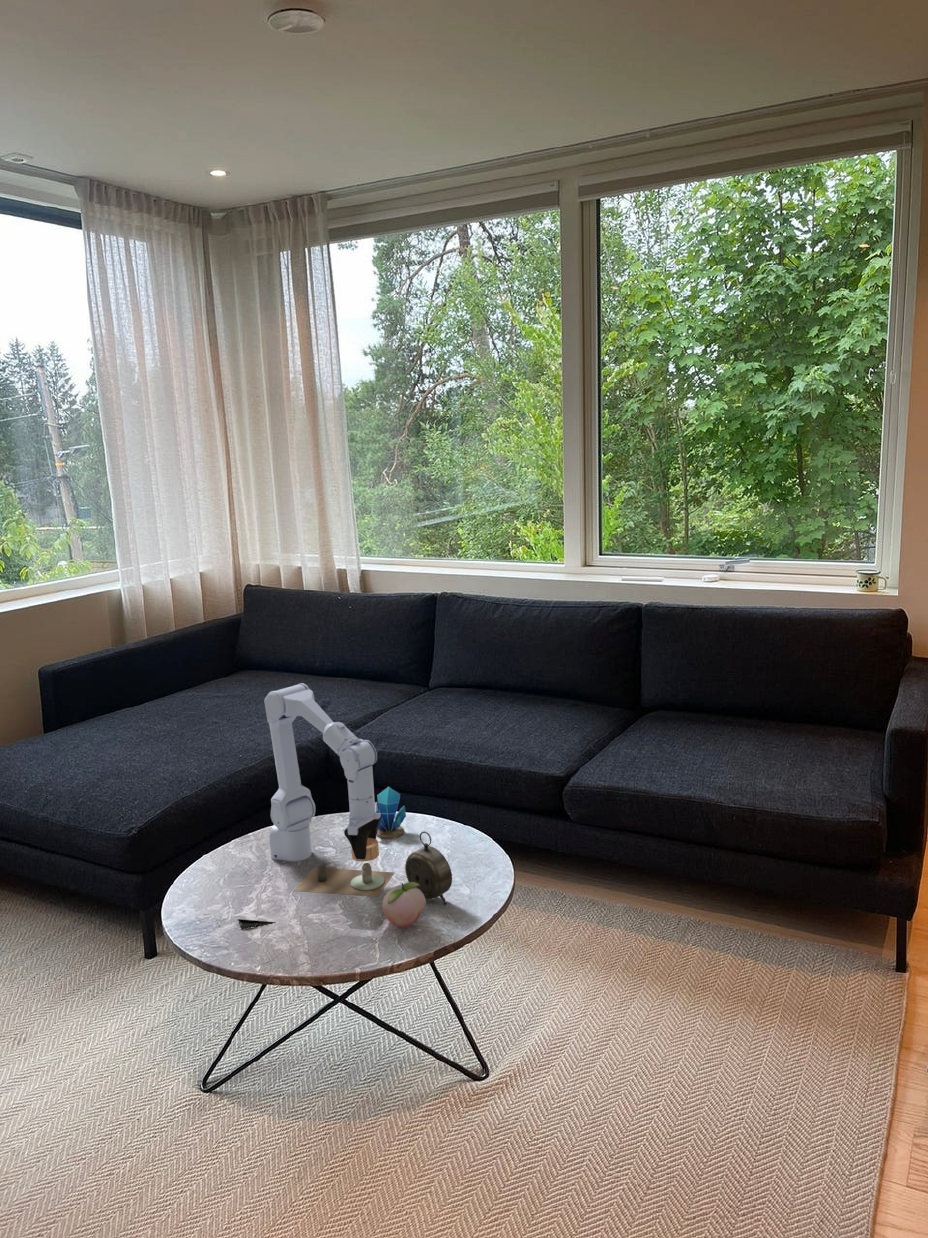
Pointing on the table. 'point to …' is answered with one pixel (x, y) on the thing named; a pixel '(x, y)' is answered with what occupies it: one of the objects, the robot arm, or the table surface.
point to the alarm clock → (429, 871)
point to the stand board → (345, 881)
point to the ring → (369, 850)
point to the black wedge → (252, 923)
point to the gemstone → (390, 814)
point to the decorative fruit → (403, 904)
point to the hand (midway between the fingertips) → (365, 852)
